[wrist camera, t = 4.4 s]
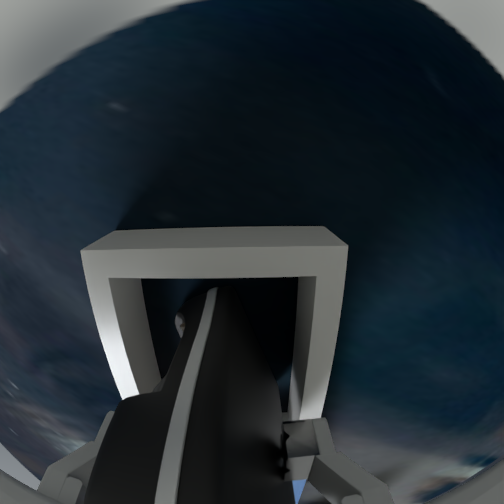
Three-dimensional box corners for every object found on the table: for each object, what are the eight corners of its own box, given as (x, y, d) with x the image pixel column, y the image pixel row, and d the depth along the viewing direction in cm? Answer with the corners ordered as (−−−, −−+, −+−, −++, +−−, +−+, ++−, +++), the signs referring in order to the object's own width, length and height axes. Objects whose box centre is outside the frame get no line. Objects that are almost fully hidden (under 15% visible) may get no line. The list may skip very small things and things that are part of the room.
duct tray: (323, 226, 12) (353, 250, 8) (287, 491, 19) (290, 521, 15) (114, 230, 11) (73, 254, 8) (189, 490, 18) (185, 520, 15)
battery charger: (154, 301, 12) (36, 540, 2) (231, 274, 12) (204, 596, 1) (215, 402, 14) (201, 592, 3) (280, 386, 14) (309, 590, 3)
